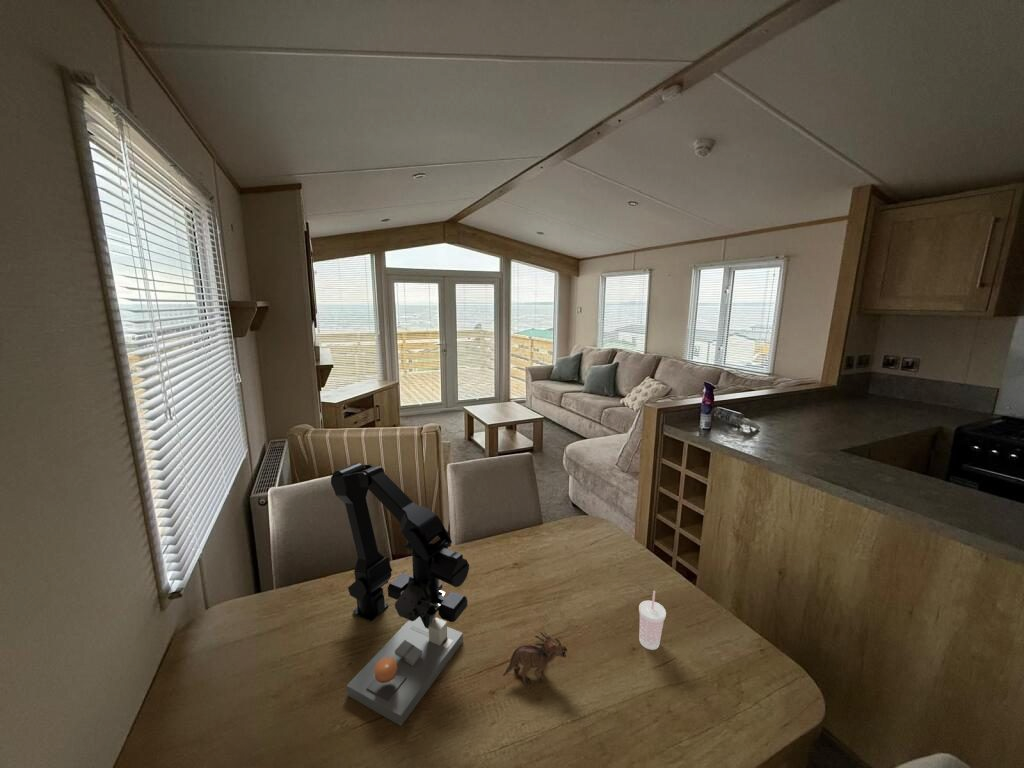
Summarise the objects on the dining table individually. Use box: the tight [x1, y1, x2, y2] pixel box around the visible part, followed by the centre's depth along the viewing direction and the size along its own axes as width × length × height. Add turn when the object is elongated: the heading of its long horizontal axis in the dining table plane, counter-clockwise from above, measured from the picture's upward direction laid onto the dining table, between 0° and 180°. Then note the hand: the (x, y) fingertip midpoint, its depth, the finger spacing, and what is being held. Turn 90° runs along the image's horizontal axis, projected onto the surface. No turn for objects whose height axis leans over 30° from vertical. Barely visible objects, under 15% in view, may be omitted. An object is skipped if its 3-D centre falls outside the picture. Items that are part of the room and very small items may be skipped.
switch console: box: [346, 617, 464, 727], centre depth 92 cm, size 14×22×3 cm, turn 154°
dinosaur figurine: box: [502, 631, 568, 686], centre depth 91 cm, size 14×6×9 cm, turn 99°
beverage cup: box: [638, 590, 667, 651], centre depth 99 cm, size 6×6×14 cm
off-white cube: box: [429, 616, 448, 646], centre depth 97 cm, size 3×3×4 cm
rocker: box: [395, 640, 423, 666], centre depth 92 cm, size 5×3×1 cm, turn 65°
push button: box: [374, 657, 397, 683], centre depth 85 cm, size 4×4×3 cm
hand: (427, 626), depth 98 cm, fingers closed
